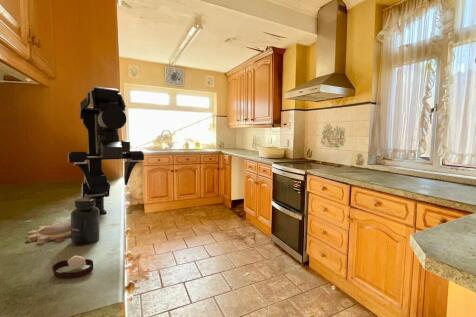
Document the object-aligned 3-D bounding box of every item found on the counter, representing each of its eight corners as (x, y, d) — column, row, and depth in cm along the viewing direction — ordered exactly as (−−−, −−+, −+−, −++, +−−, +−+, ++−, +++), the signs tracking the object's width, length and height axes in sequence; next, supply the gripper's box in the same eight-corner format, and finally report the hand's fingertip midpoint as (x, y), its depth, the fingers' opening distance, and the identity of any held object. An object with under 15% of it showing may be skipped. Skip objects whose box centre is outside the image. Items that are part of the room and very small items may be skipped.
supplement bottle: (66, 247, 63) (65, 202, 62) (76, 237, 70) (75, 196, 69) (96, 245, 65) (95, 201, 64) (102, 235, 72) (102, 195, 71)
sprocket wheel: (28, 230, 74) (28, 226, 74) (83, 221, 83) (83, 217, 83) (26, 248, 63) (26, 242, 62) (90, 235, 72) (90, 230, 72)
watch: (97, 267, 55) (97, 251, 54) (88, 279, 50) (87, 262, 50) (59, 269, 54) (59, 253, 53) (46, 281, 49) (46, 264, 49)
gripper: (69, 128, 57) (71, 194, 57) (149, 131, 68) (150, 186, 69) (66, 131, 66) (68, 188, 66) (137, 133, 77) (139, 182, 78)
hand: (108, 186), depth 70 cm, fingers open, 9 cm apart
